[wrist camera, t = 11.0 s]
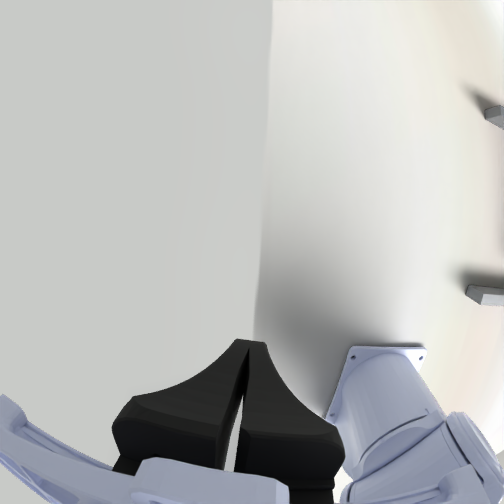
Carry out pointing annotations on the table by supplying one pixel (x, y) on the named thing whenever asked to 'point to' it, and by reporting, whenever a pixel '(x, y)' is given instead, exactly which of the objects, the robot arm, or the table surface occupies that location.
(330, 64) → the table surface
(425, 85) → the table surface
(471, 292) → the grey open frame
